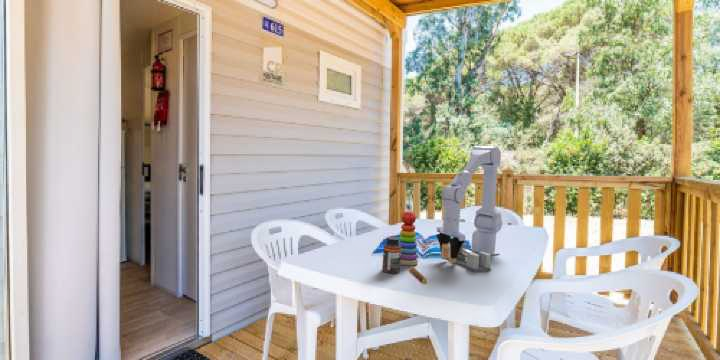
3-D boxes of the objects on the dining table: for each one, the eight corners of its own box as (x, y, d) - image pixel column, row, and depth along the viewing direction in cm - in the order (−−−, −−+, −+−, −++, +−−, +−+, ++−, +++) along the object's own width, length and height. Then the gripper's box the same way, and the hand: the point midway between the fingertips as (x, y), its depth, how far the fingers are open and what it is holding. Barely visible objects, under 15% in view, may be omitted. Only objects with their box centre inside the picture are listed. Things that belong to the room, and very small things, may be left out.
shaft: (449, 255, 148) (450, 242, 148) (461, 254, 151) (462, 242, 150) (471, 265, 137) (472, 251, 137) (483, 264, 139) (484, 250, 139)
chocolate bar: (420, 284, 120) (420, 277, 120) (407, 272, 132) (408, 265, 132) (428, 284, 121) (428, 277, 120) (414, 271, 132) (415, 265, 132)
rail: (442, 257, 151) (443, 243, 150) (457, 255, 154) (458, 242, 153) (474, 272, 134) (475, 256, 134) (490, 270, 137) (492, 255, 136)
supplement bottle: (380, 268, 133) (382, 235, 132) (398, 268, 133) (400, 235, 133) (383, 273, 127) (385, 239, 126) (401, 274, 128) (403, 240, 127)
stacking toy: (419, 261, 143) (423, 210, 142) (415, 267, 136) (418, 214, 134) (398, 258, 146) (401, 208, 144) (393, 264, 138) (396, 211, 137)
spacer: (450, 262, 140) (451, 247, 139) (441, 258, 145) (442, 243, 144) (456, 262, 141) (457, 247, 140) (447, 257, 146) (448, 243, 145)
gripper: (430, 215, 147) (428, 251, 148) (454, 223, 133) (451, 262, 134) (446, 214, 149) (444, 249, 151) (471, 222, 136) (468, 260, 137)
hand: (448, 255), depth 143 cm, fingers closed on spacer, 5 cm apart
